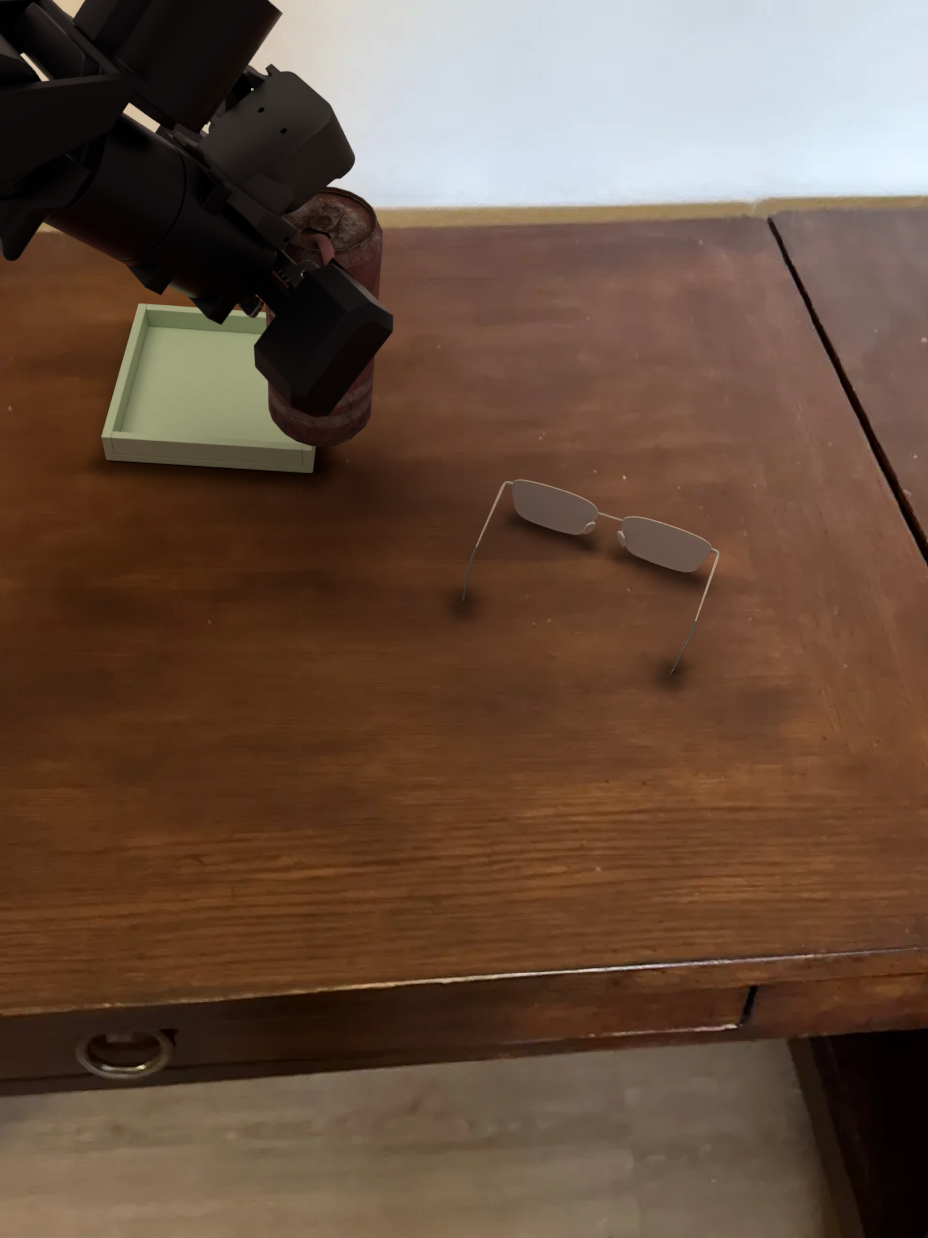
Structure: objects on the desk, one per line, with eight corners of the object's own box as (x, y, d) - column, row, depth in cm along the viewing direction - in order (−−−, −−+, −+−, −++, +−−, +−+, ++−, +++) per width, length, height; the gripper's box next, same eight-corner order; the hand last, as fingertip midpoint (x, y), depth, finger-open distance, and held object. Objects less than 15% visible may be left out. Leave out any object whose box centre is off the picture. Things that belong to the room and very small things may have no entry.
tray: (106, 460, 78) (101, 436, 76) (142, 326, 86) (138, 302, 84) (312, 473, 79) (311, 450, 77) (329, 339, 87) (329, 316, 85)
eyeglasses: (710, 580, 76) (724, 541, 72) (675, 683, 71) (689, 647, 68) (500, 510, 78) (505, 469, 74) (455, 606, 74) (457, 568, 70)
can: (282, 461, 70) (280, 262, 59) (259, 386, 74) (252, 185, 63) (383, 445, 72) (399, 249, 61) (356, 372, 75) (366, 174, 64)
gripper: (362, 152, 48) (540, 292, 61) (141, -46, 57) (339, 116, 70) (202, 372, 51) (405, 461, 64) (14, 153, 60) (228, 272, 73)
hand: (344, 317), depth 68 cm, fingers closed on can, 5 cm apart
